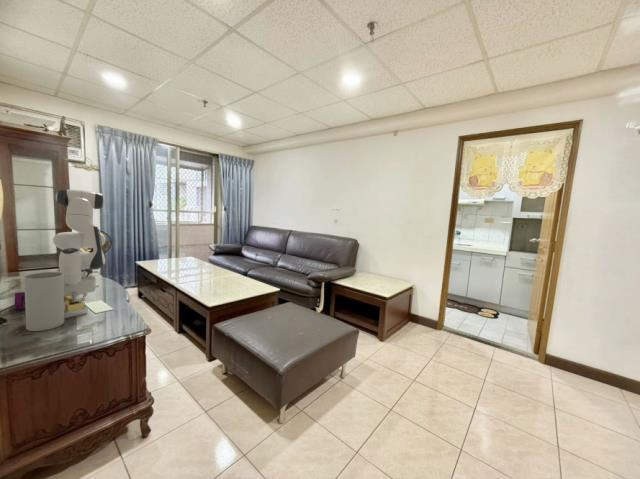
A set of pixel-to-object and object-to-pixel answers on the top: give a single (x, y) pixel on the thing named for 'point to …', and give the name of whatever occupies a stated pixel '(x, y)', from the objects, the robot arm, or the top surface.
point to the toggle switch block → (75, 312)
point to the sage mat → (98, 306)
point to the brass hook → (70, 306)
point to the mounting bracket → (19, 300)
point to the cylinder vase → (44, 300)
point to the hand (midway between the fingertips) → (71, 302)
